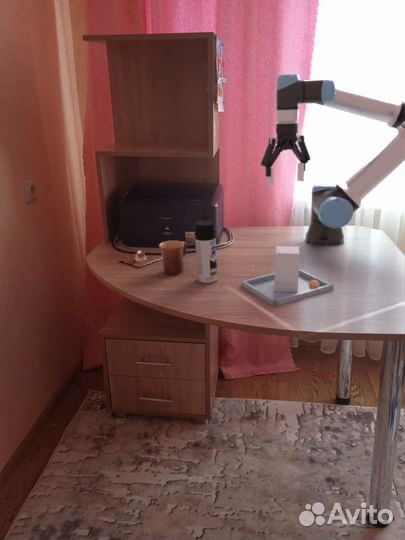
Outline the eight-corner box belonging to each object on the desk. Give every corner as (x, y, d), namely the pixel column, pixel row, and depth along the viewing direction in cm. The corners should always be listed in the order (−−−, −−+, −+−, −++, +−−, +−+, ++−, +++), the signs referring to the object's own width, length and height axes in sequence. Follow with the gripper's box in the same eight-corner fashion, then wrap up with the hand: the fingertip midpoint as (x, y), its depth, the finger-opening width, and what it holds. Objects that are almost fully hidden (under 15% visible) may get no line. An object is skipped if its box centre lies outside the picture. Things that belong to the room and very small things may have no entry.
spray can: (213, 284, 155) (211, 226, 147) (194, 282, 157) (191, 224, 150) (219, 277, 160) (218, 220, 153) (201, 275, 163) (198, 219, 155)
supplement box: (298, 292, 144) (299, 254, 139) (273, 291, 145) (274, 253, 141) (298, 283, 151) (299, 246, 146) (274, 282, 152) (275, 245, 148)
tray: (296, 273, 160) (296, 267, 160) (332, 291, 146) (333, 284, 145) (241, 288, 151) (241, 281, 150) (274, 308, 136) (274, 301, 135)
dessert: (163, 260, 180) (162, 248, 178) (139, 269, 171) (138, 257, 170) (142, 254, 187) (141, 243, 186) (118, 263, 179) (117, 251, 177)
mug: (175, 278, 161) (173, 250, 157) (156, 273, 166) (153, 246, 162) (196, 267, 170) (194, 240, 166) (177, 263, 175) (175, 236, 171)
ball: (314, 287, 148) (314, 277, 146) (321, 290, 145) (321, 280, 144) (306, 289, 146) (306, 279, 145) (313, 292, 144) (313, 283, 142)
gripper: (308, 119, 172) (305, 177, 180) (251, 124, 162) (251, 185, 169) (322, 120, 166) (319, 180, 174) (263, 125, 155) (263, 189, 163)
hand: (285, 183), depth 171 cm, fingers open, 13 cm apart
